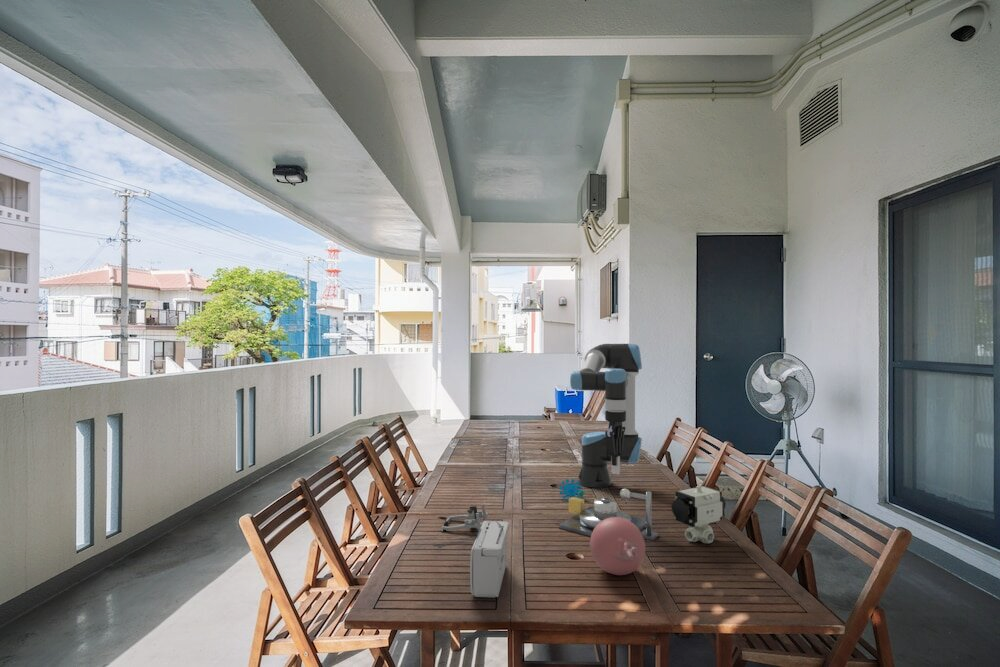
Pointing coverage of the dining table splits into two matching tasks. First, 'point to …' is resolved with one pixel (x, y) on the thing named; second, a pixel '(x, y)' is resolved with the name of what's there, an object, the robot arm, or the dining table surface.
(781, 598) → the dining table surface
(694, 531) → the ball valve
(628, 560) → the balloon
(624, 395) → the robot arm
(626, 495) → the dial gauge
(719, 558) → the dining table surface
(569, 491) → the blue virus model
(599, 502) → the cover
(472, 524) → the bike brake
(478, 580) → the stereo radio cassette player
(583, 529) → the turntable base
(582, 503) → the turntable
